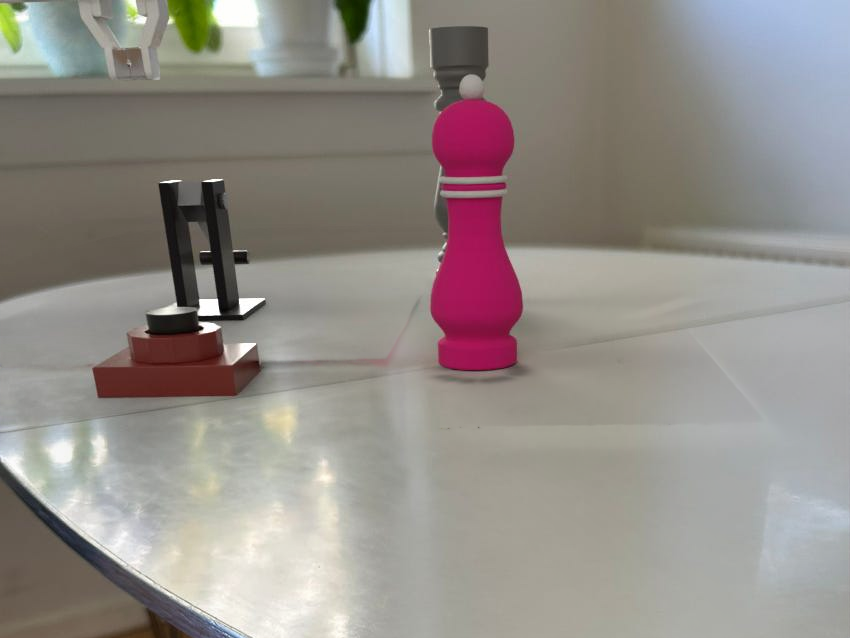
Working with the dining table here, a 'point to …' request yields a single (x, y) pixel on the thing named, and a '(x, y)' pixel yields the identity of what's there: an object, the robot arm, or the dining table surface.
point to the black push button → (172, 321)
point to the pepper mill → (475, 236)
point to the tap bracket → (221, 253)
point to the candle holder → (454, 83)
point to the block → (177, 365)
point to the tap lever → (201, 218)
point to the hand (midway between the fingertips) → (135, 80)
